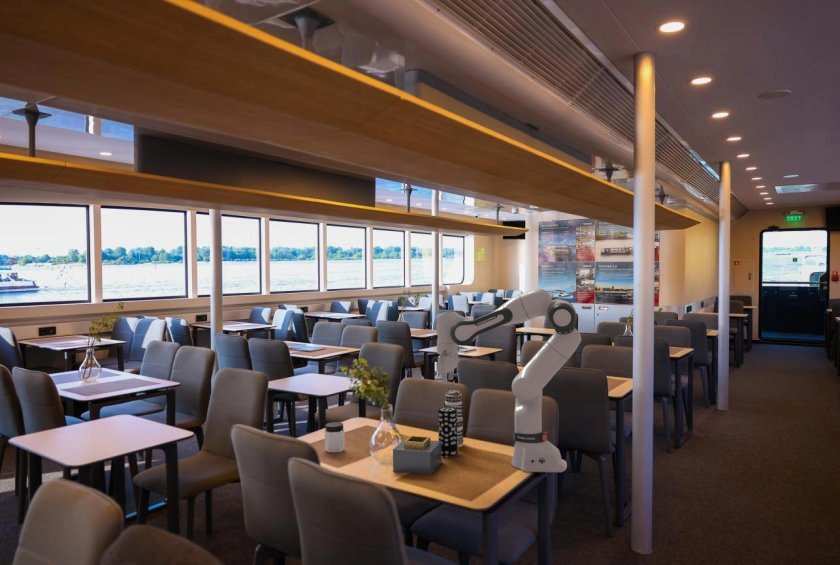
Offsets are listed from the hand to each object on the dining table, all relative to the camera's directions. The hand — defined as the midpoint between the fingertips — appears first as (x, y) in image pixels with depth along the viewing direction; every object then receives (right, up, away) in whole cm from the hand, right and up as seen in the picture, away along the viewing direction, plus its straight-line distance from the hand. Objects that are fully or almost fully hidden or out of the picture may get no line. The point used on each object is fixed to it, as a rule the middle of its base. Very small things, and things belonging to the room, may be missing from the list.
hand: (447, 381), depth 247 cm
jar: (-51, -35, +19) cm, 65 cm away
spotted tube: (+1, -34, +10) cm, 36 cm away
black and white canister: (+4, -34, +25) cm, 42 cm away
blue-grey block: (-13, -35, -6) cm, 37 cm away
